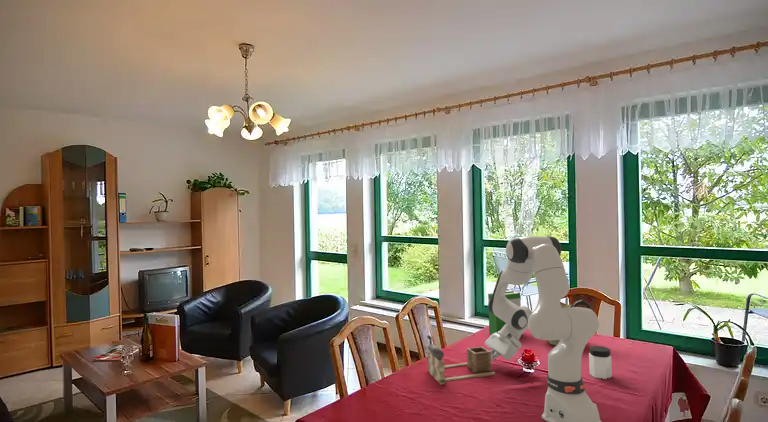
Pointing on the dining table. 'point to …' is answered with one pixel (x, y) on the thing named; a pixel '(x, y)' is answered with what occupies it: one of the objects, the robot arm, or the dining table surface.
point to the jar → (600, 362)
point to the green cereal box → (496, 322)
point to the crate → (478, 359)
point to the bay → (438, 366)
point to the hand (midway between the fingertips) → (489, 359)
